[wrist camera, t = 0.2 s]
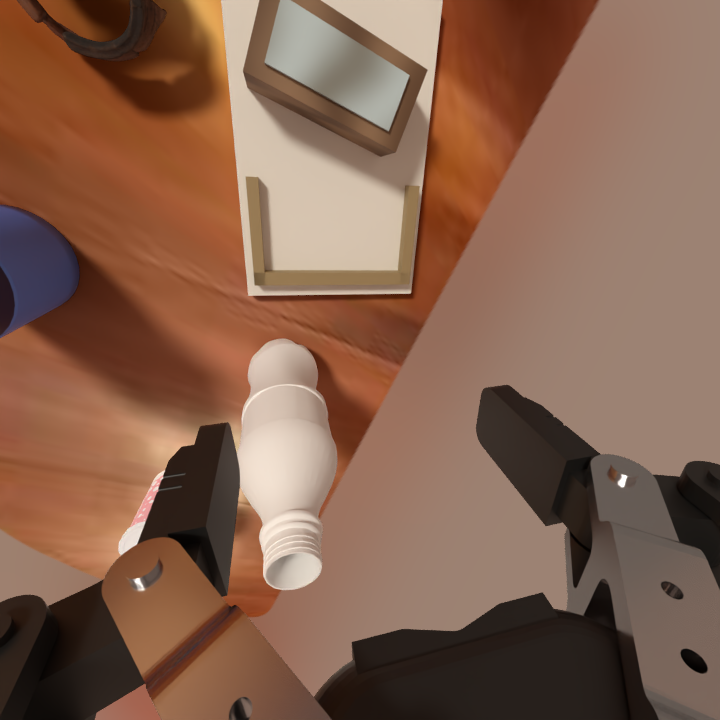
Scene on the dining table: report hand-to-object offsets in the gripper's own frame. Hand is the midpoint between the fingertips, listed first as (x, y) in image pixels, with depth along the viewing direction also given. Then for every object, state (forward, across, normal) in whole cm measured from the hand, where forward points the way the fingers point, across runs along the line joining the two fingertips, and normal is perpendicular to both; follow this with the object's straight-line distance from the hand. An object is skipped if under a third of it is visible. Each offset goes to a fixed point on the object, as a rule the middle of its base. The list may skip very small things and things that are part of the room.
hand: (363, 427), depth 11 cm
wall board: (+28, -4, -8) cm, 30 cm away
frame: (+27, -4, -14) cm, 31 cm away
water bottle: (+28, +3, +11) cm, 31 cm away
